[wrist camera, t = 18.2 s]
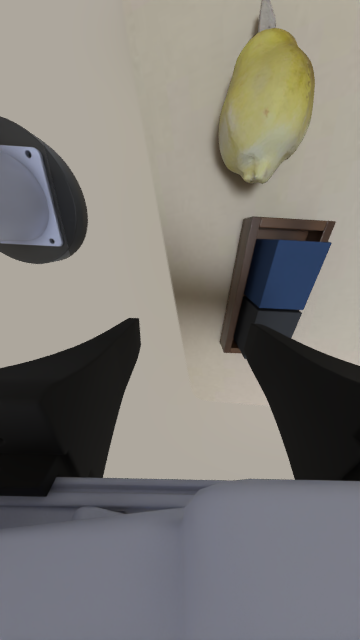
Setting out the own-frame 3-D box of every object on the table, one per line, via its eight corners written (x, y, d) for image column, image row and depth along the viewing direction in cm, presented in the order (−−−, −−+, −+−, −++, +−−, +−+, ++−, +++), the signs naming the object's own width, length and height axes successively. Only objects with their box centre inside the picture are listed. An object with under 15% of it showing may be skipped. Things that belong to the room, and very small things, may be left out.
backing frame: (219, 342, 24) (223, 352, 21) (243, 218, 17) (252, 216, 15) (272, 344, 24) (281, 355, 22) (316, 223, 17) (336, 221, 15)
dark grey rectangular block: (233, 337, 23) (244, 358, 19) (242, 296, 20) (258, 310, 16) (264, 339, 23) (282, 360, 19) (278, 298, 20) (302, 312, 16)
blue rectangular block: (243, 294, 20) (259, 308, 16) (256, 238, 17) (279, 239, 13) (279, 295, 20) (303, 310, 16) (297, 241, 17) (332, 242, 13)
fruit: (303, 9, 11) (296, 184, 14) (214, 63, 13) (225, 205, 16) (357, -195, 6) (329, 145, 9) (199, -56, 8) (219, 183, 11)
